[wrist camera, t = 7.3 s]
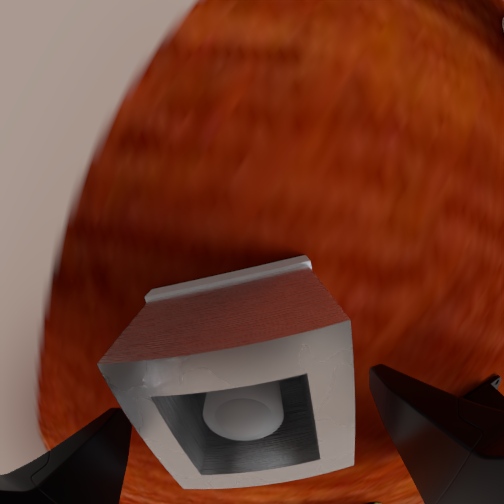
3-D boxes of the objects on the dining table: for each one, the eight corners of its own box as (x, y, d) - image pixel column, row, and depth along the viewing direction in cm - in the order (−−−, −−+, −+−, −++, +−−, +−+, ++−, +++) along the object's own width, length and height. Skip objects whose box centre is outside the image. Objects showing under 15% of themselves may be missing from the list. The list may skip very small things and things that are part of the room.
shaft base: (324, 380, 13) (354, 460, 8) (198, 403, 14) (181, 484, 8) (305, 255, 12) (349, 306, 6) (151, 289, 12) (94, 353, 7)
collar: (326, 388, 12) (354, 465, 7) (198, 412, 12) (183, 488, 8) (307, 264, 11) (350, 319, 6) (150, 299, 11) (96, 364, 6)
